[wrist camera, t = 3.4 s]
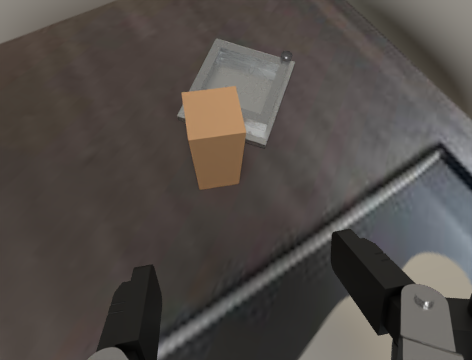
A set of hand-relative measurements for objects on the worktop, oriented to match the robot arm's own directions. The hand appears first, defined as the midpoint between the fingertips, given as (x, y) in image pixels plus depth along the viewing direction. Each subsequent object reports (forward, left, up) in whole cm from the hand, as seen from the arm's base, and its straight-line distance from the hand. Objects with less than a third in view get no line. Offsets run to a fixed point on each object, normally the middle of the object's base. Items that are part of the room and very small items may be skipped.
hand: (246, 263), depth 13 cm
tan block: (+9, +5, -14) cm, 18 cm away
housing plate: (+19, +6, -14) cm, 25 cm away
